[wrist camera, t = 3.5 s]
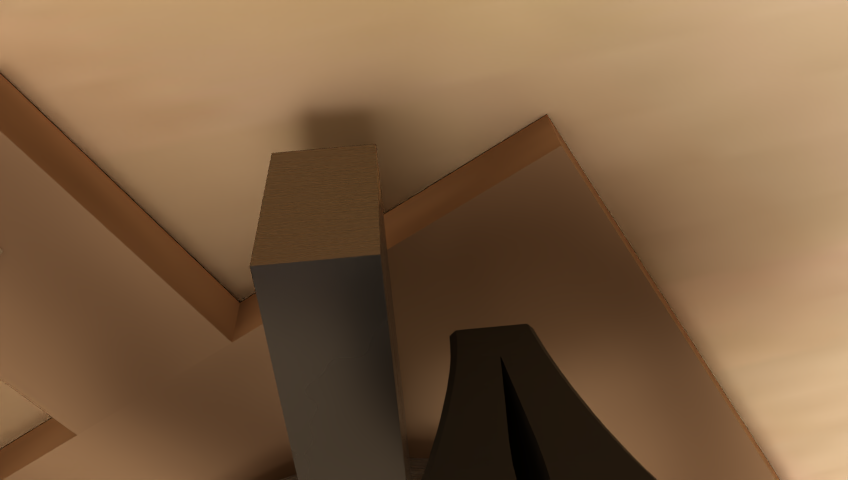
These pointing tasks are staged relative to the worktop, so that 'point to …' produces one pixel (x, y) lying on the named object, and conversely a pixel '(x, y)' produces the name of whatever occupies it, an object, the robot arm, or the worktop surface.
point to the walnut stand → (245, 337)
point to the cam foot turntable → (332, 315)
